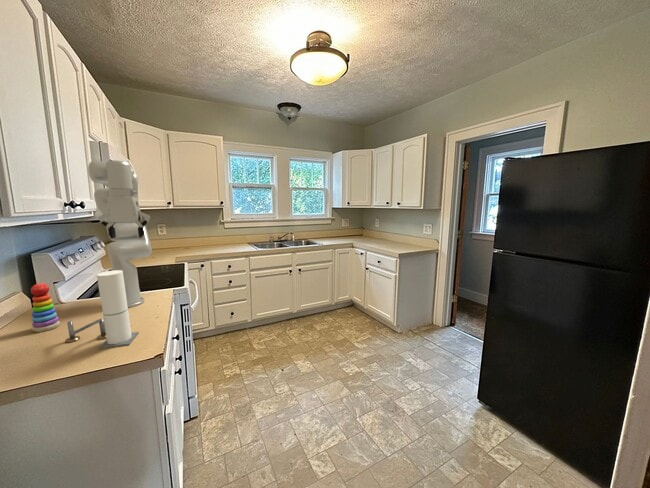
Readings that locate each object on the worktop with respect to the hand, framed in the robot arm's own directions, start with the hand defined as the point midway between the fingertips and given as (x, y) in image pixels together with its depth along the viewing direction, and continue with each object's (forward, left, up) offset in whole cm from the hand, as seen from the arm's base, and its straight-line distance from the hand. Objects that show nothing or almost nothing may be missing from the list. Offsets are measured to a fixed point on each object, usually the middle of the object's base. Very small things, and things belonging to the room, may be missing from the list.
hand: (127, 237), depth 108 cm
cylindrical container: (+16, -1, -36) cm, 39 cm away
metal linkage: (+15, -13, -36) cm, 41 cm away
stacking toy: (-5, -34, -36) cm, 50 cm away
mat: (+16, -1, -36) cm, 39 cm away
